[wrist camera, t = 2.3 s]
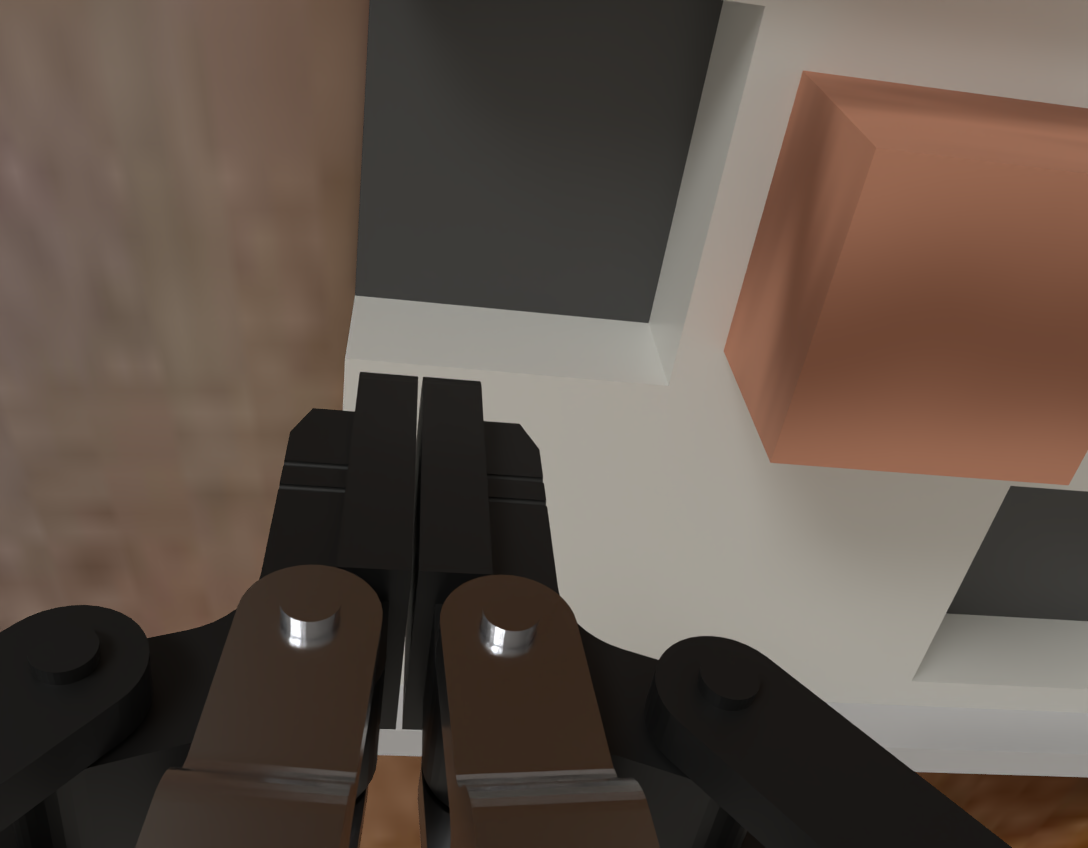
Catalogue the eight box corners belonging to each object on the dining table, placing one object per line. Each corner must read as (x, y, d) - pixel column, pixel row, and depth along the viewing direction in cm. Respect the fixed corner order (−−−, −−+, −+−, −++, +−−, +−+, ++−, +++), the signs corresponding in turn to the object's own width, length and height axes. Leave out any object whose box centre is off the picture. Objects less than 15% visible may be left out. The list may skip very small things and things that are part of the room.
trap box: (383, -270, 18) (359, -258, 13) (1933, -3, 23) (2337, 78, 18) (339, 625, 30) (317, 803, 25) (1354, 675, 35) (1501, 832, 30)
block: (802, 70, 19) (875, 147, 16) (1100, 110, 20) (1229, 191, 17) (723, 351, 22) (770, 462, 19) (981, 374, 23) (1068, 485, 20)
